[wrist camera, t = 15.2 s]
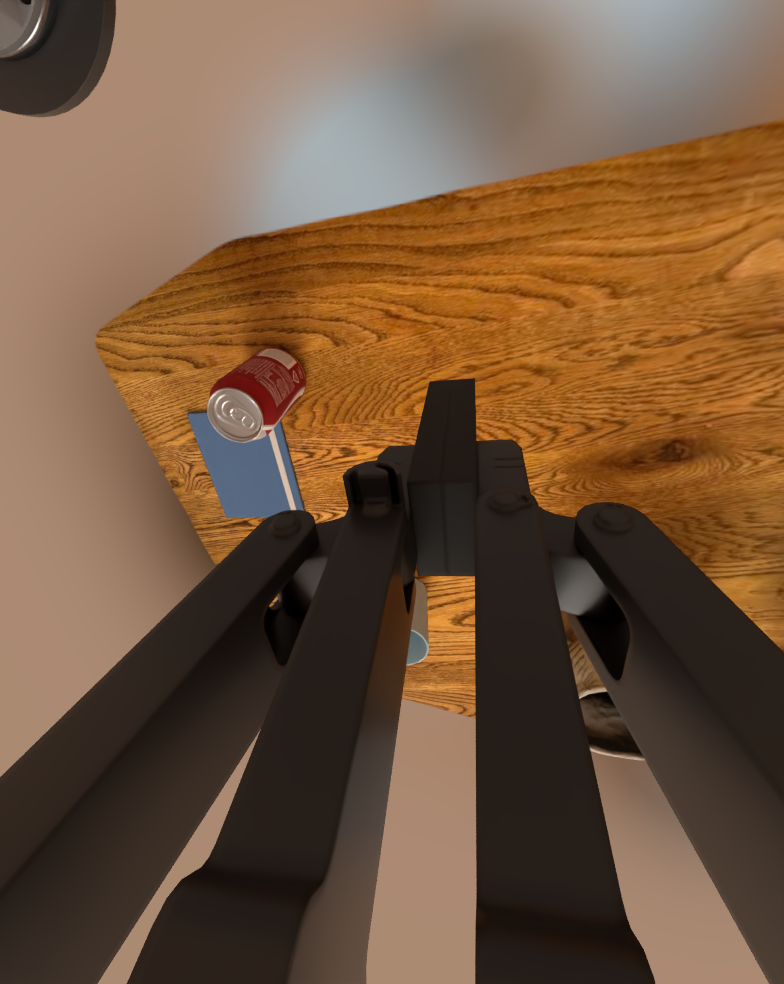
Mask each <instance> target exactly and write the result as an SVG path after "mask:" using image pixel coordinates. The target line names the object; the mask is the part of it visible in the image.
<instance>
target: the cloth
mask: <svg viewBox="0 0 784 984" xmlns="http://www.w3.org/2000/svg"><path fill="white" fill-rule="evenodd" d="M187 416H188V419H189V421H190V424H191V426H192V429H193V432H194V434H195V437H196V440H197V442H198V445H199V447H200V450H201V453H202V455H203V458H204V460H205V463H206V466H207V468H208V471H209V473H210V476H211V479H212V481H213V484H214V486H215V489H216V492H217V494H218V497H219V499H220V502H221V505H222V507H223V510H224V512H225V515H226V518H246V517H270V516H272V515H275V514H277V513H279V512H282V511H286V510H303V511H305V509H304V506H303V502H302V498H301V494H300V491H299V487H298V483H297V480H296V476H295V472H294V469H293V465H292V461H291V457H290V454H289V450H288V446H287V443H286V439H285V435H284V432H283V428H282V424H281V421H280V422H279V423H278V424H277V425H276V426H275V427H274V429H273V430H272V431H271V432H270V433H269V434H268V435H267V436H265V437H263V438H261V439H258V440H252V441H249V442H245V443H239V442H234V441H231V440H228V439H226V438H225V437H223V436H222V435H220V434H219V433H218V432H217V431H216V430H215V429H214V427H213V426H212V424H211V423H210V421H209V418H208V415H207V412H196V413H188V414H187Z"/></svg>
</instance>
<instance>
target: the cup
mask: <svg viewBox="0 0 784 984" xmlns="http://www.w3.org/2000/svg"><path fill="white" fill-rule="evenodd" d="M415 584H416V598H415V605H414V613H413V620H412V627H411V634H410V642H409V649H408V656H407V664H406V665H411V664H415V663H418V662H420V661H422V660H423V659H424V658H425V657H426V656H427V654H428V651H429V638H428V613H427V590H426V587H425V585H424V584H423V583H422V582H421V581H419V580H418V579H416V578H415Z"/></svg>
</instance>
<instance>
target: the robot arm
mask: <svg viewBox="0 0 784 984" xmlns="http://www.w3.org/2000/svg"><path fill="white" fill-rule="evenodd" d="M58 7H59V0H0V60H1V61H18V60H23V59H25V58H28V57H30V56H32V55H33V54H35V53H36V52H37V51H39V50H40V49H41V47H42V46H43V45H44V44H45V43H46V41H47V40H48V38H49V36H50V34H51V32H52V30H53V27H54V24H55V21H56V17H57V13H58ZM343 480H344V485H345V490H346V495H347V500H348V505H349V508H348V510H347V513H346V515H345V516H344V517H342V518H339V519H336V520H332V521H328V522H323V523H319V524H315V520H314V517H313V516H312V515H311V514H310V513H309V512H306V511H303V510H286V511H282V512H279V513H277V514H275V515H272V516H270V517H268V518H267V519H266V520H264V521H263V522H262V523H261V524H259V525H258V526H257V527H256V528H255V529H254V530H253V531H252V532H251V533H250V534H249V535H248V536H247V537H246V538H245V539H244V540H243V541H242V542H241V543H240V544H239V545H238V546H237V547H236V548H235V549H234V550H233V551H232V552H231V553H230V554H229V555H228V556H227V557H226V558H225V559H224V560H223V561H222V562H221V563H220V564H218V565H217V566H216V567H215V568H214V569H213V570H212V571H211V572H210V573H209V574H208V575H207V576H206V577H205V578H204V579H203V580H202V581H201V582H200V583H199V584H198V585H197V586H196V587H195V588H194V589H193V590H192V591H191V592H190V593H189V594H188V595H187V596H186V597H185V598H184V599H183V600H182V601H181V602H180V603H178V605H176V606H175V607H174V608H173V609H172V610H171V611H170V612H169V613H168V614H167V615H166V616H165V617H164V618H163V619H162V620H161V621H160V622H159V623H158V624H157V625H156V626H155V627H154V628H153V629H152V630H151V631H150V632H149V633H148V634H147V635H146V636H145V637H144V638H143V639H142V640H141V641H140V642H139V643H137V644H136V645H135V647H133V648H132V649H131V650H130V651H129V652H128V653H127V654H126V655H125V656H124V657H123V658H122V659H121V660H120V661H119V662H118V663H117V664H116V665H115V666H114V667H113V668H112V669H111V670H110V671H109V672H108V673H107V674H106V675H105V676H104V677H103V678H102V679H101V680H100V681H99V682H98V683H97V684H95V686H93V688H92V689H90V691H88V692H87V693H86V694H85V695H84V696H83V697H82V698H81V699H80V700H79V701H78V702H77V703H76V704H75V705H74V706H73V707H72V708H71V709H70V710H69V711H68V712H67V713H66V714H65V715H64V716H63V717H62V718H61V719H60V720H59V721H58V722H57V723H56V724H55V725H53V726H52V727H51V728H50V729H49V730H48V731H47V732H46V733H45V734H44V735H43V736H42V737H41V738H40V739H39V740H38V741H37V742H36V743H35V744H34V745H33V746H32V747H31V748H30V749H29V750H28V751H27V752H26V753H25V754H24V755H23V756H22V757H21V758H20V759H19V760H18V761H17V762H16V763H14V764H13V765H12V766H11V767H10V768H9V769H8V770H7V771H6V772H5V773H4V774H3V775H2V776H1V777H0V984H97V983H98V982H99V980H100V979H101V977H102V976H103V974H104V972H105V971H106V969H107V968H108V966H109V965H110V963H111V961H112V960H113V958H114V957H115V955H116V954H117V952H118V951H119V949H120V948H121V946H122V944H123V943H124V941H125V940H126V938H127V937H128V935H129V933H130V932H131V930H132V929H133V927H134V926H135V924H136V922H137V921H138V919H139V918H140V916H141V915H142V913H143V912H144V910H145V909H146V907H147V905H148V904H149V902H150V901H151V899H152V898H153V896H154V894H155V893H156V891H157V890H158V888H159V887H160V885H161V884H162V882H163V880H164V879H165V877H166V876H167V874H168V873H169V871H170V870H171V868H172V866H173V865H174V863H175V862H176V860H177V859H178V857H179V855H180V854H181V852H182V851H183V849H184V848H185V846H186V845H187V843H188V842H189V840H190V838H191V837H192V835H193V834H194V832H195V830H196V829H197V827H198V826H199V824H200V823H201V821H202V820H203V818H204V817H205V815H206V813H207V812H208V810H209V809H210V807H211V805H212V804H213V803H214V801H215V799H216V798H217V796H218V795H219V793H220V792H221V790H222V788H223V787H224V785H225V784H226V782H227V781H228V779H229V778H230V776H231V774H232V773H233V771H234V770H235V768H236V767H237V765H238V764H239V762H240V760H241V759H242V757H243V756H244V754H245V753H246V751H247V750H248V748H249V746H250V745H251V743H252V742H253V740H254V739H255V737H256V735H257V734H258V732H259V731H260V729H261V731H260V733H259V735H258V738H257V741H256V743H255V746H254V748H253V751H252V753H251V756H250V758H249V761H248V764H247V766H246V768H245V771H244V773H243V776H242V778H241V781H240V783H239V786H238V789H237V791H236V794H235V796H234V799H233V801H232V804H231V806H230V809H229V811H228V814H227V816H226V819H225V821H224V824H223V827H222V829H221V832H220V834H219V837H218V839H217V842H216V844H215V846H214V849H213V850H212V852H211V854H210V857H209V858H208V860H207V861H206V862H205V863H204V865H203V866H202V867H201V868H199V869H198V870H196V871H194V872H193V873H191V874H190V875H188V876H187V877H185V878H183V879H182V880H181V881H180V882H179V883H178V885H177V886H176V887H175V888H174V890H173V891H172V892H171V894H170V895H169V896H168V897H167V899H166V901H165V903H164V904H163V906H162V908H161V910H160V912H159V914H158V916H157V918H156V920H155V922H154V924H153V926H152V928H151V930H150V932H149V934H148V937H147V939H146V941H145V943H144V946H143V948H142V950H141V953H140V955H139V957H138V960H137V962H136V964H135V966H134V969H133V971H132V973H131V976H130V978H129V980H128V983H127V984H366V960H367V949H368V940H369V933H370V925H371V918H372V911H373V904H374V896H375V889H376V882H377V874H378V867H379V860H380V852H381V845H382V838H383V830H384V824H385V816H386V809H387V801H388V794H389V787H390V780H391V773H392V765H393V758H394V751H395V744H396V736H397V729H398V722H399V714H400V707H401V700H402V693H403V685H404V678H405V671H406V664H407V656H408V649H409V642H410V634H411V627H412V620H413V613H414V605H415V598H416V584H415V576H414V575H415V569H416V563H417V571H418V576H475V658H476V838H477V839H476V845H477V847H476V850H477V851H476V855H477V856H476V860H477V904H476V905H477V906H476V907H477V908H476V956H475V957H476V959H475V960H476V961H475V965H476V966H475V967H476V968H475V969H476V971H475V972H476V973H475V979H476V980H475V983H476V984H655V980H654V977H653V974H652V971H651V968H650V966H649V963H648V960H647V958H646V955H645V952H644V949H643V948H642V946H641V944H640V943H639V941H638V940H637V938H636V936H635V935H634V933H633V931H632V930H631V928H630V925H629V922H628V920H627V916H626V913H625V909H624V905H623V901H622V897H621V892H620V887H619V883H618V878H617V873H616V868H615V864H614V859H613V855H612V850H611V845H610V840H609V836H608V831H607V826H606V822H605V817H604V812H603V807H602V803H601V798H600V793H599V788H598V784H597V779H596V775H595V770H594V765H593V761H592V756H591V751H590V746H589V741H588V737H587V732H586V727H585V723H584V718H583V713H582V709H581V704H580V699H579V694H578V690H577V685H576V680H575V676H574V671H573V666H572V662H571V657H570V652H569V647H568V643H567V638H566V633H565V629H564V624H563V619H562V615H561V611H563V612H566V615H567V619H568V622H569V623H570V625H571V627H572V629H573V631H574V632H575V634H576V636H577V638H578V640H579V641H580V643H581V645H582V647H583V649H584V650H585V652H586V654H587V656H588V658H589V659H590V661H591V663H592V665H593V667H594V668H595V670H596V672H597V674H598V676H599V677H600V679H601V681H602V683H603V685H604V686H605V688H606V690H607V692H608V694H609V695H610V697H611V699H612V701H613V703H614V705H615V706H616V708H617V710H618V712H619V714H620V715H621V717H622V719H623V721H624V723H625V724H626V726H627V728H628V730H629V732H630V733H631V735H632V737H633V739H634V741H635V742H636V744H637V746H638V748H639V750H640V751H641V753H642V755H643V757H644V759H645V760H646V762H647V764H648V766H649V768H650V769H651V771H652V773H653V775H654V777H655V778H656V780H657V782H658V784H659V786H660V787H661V789H662V791H663V793H664V795H665V796H666V798H667V800H668V802H669V804H670V806H671V807H672V809H673V811H674V813H675V815H676V816H677V818H678V820H679V822H680V824H681V825H682V827H683V829H684V831H685V832H686V834H687V836H688V838H689V840H690V842H691V843H692V845H693V847H694V849H695V851H696V852H697V854H698V856H699V858H700V860H701V861H702V863H703V865H704V867H705V869H706V870H707V872H708V874H709V876H710V878H711V879H712V881H713V883H714V885H715V887H716V888H717V890H718V892H719V894H720V896H721V897H722V899H723V901H724V903H725V905H726V906H727V908H728V910H729V912H730V914H731V916H732V917H733V919H734V921H735V923H736V924H737V926H738V928H739V930H740V932H741V934H742V935H743V937H744V939H745V941H746V943H747V944H748V946H749V948H750V950H751V952H752V953H753V955H754V957H755V959H756V960H757V962H758V964H759V966H760V968H761V969H762V971H763V973H764V975H765V977H766V979H767V980H768V982H769V984H784V652H783V651H782V650H781V649H780V648H779V647H778V646H777V645H776V644H775V643H774V642H773V641H772V640H771V639H770V638H769V637H768V636H767V635H766V634H765V633H764V632H763V631H762V630H761V629H760V628H759V627H758V626H757V625H756V624H755V623H754V622H753V621H752V620H751V619H750V618H749V617H748V616H747V615H746V614H745V613H744V612H742V611H741V610H740V609H739V608H738V607H737V606H736V605H735V604H734V603H733V602H732V601H731V600H730V599H729V598H728V597H727V596H726V595H725V594H724V593H723V592H722V591H721V590H720V589H719V588H718V587H717V586H716V585H715V584H714V583H713V582H712V581H711V580H710V579H709V578H708V577H707V576H706V575H705V574H704V573H703V572H702V571H701V570H700V569H699V568H698V567H697V566H696V565H695V564H694V563H693V562H692V561H691V560H690V559H689V558H688V557H687V556H686V555H685V554H684V553H683V552H682V551H681V550H680V549H679V548H678V547H677V546H676V545H675V544H674V543H673V542H672V541H671V540H670V539H669V538H668V537H667V536H666V535H665V534H664V533H663V532H662V531H661V530H660V529H659V528H658V527H657V526H656V525H655V524H654V523H653V522H651V521H650V520H649V519H648V518H647V517H646V516H645V515H644V514H642V513H641V512H640V511H638V510H637V509H635V508H632V507H629V506H626V505H624V504H619V503H612V502H602V503H594V504H590V505H587V506H585V507H583V508H582V509H581V510H579V511H578V513H577V516H576V518H573V517H567V516H562V515H557V514H553V513H551V512H548V511H546V510H544V509H542V508H541V507H539V506H538V502H537V501H536V499H535V497H534V496H533V495H531V493H530V488H529V483H528V478H527V473H526V468H525V463H524V459H523V453H522V448H521V447H520V446H519V445H518V444H517V443H516V442H514V441H513V440H490V441H476V407H475V378H473V379H459V380H445V381H431V382H430V383H429V387H428V391H427V396H426V400H425V404H424V409H423V413H422V417H421V422H420V426H419V430H418V435H417V439H416V443H415V445H408V446H389V447H388V448H386V449H385V450H384V451H383V452H382V453H381V454H379V456H378V459H377V460H376V461H369V462H364V463H361V464H358V465H355V466H353V467H352V468H350V469H348V470H347V471H346V472H345V473H344V475H343ZM276 596H277V597H278V600H277V601H276V602H275V604H274V605H273V606H271V607H269V605H270V604H271V602H272V601H273V600H274V599H275V597H276Z"/></svg>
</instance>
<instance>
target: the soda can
mask: <svg viewBox="0 0 784 984" xmlns="http://www.w3.org/2000/svg"><path fill="white" fill-rule="evenodd" d="M305 386H306V378H305V373H304V370H303V368H302V366H301V365H300V363H299V362H298V361H297V359H296V358H295V357H294V356H292V355H291V354H290V353H288V352H286V351H284V350H281V349H278V348H267V349H263V350H261V351H259V352H258V353H256V354H255V355H253V356H252V357H251V358H249V359H248V360H246V361H245V362H243V363H242V364H241V365H239V366H238V367H236V368H235V369H234V370H232V371H231V372H229V373H228V374H227V375H225V376H224V377H222V378H221V379H220V380H218V381H217V382H216V383H215V384H214V386H213V387H212V389H211V392H210V397H209V400H208V403H207V415H208V418H209V421H210V423H211V424H212V426H213V427H214V429H215V430H216V431H217V432H218V433H219V434H220V435H222V436H223V437H225V438H226V439H228V440H231V441H234V442H239V443H245V442H249V441H252V440H258V439H261V438H263V437H265V436H267V435H268V434H269V433H270V432H271V431H272V430H273V429H274V427H275V426H276V425H277V424H278V423H279V422H280V421H281V419H282V418H283V417H284V416H285V415H286V414H287V413H288V411H289V410H290V409H291V408H292V407H293V406H294V405H295V403H296V402H297V401H298V400H299V399H300V398H301V396H302V395H303V393H304V390H305Z"/></svg>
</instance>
